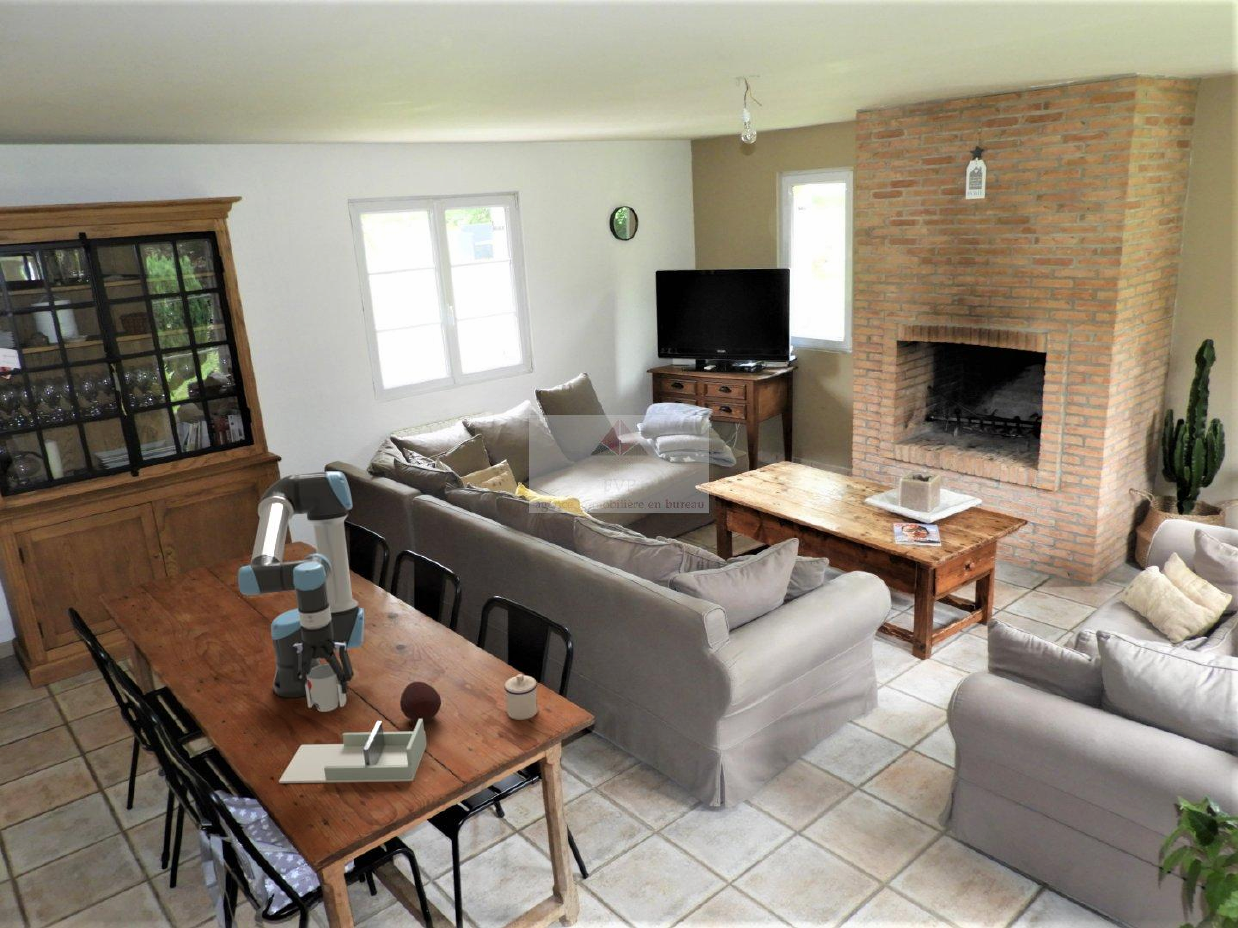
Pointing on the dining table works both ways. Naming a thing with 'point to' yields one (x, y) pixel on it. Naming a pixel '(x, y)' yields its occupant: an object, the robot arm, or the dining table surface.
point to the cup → (323, 687)
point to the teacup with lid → (521, 697)
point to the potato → (420, 702)
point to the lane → (358, 759)
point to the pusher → (374, 745)
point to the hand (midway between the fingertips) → (327, 704)
